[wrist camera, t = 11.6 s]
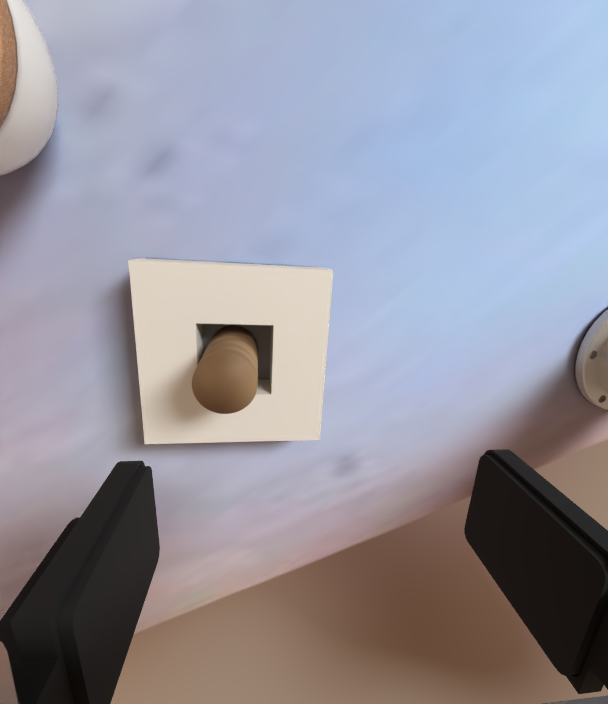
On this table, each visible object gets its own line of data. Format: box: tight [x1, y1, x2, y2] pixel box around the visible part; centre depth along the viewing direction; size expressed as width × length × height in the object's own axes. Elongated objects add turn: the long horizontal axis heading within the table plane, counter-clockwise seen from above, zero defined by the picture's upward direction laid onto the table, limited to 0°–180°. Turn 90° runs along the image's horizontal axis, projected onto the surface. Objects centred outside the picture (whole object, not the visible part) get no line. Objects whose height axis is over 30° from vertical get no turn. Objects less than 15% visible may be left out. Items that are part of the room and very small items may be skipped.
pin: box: [192, 325, 258, 414], centre depth 25 cm, size 4×4×8 cm
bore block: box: [128, 258, 333, 444], centre depth 28 cm, size 14×14×4 cm
